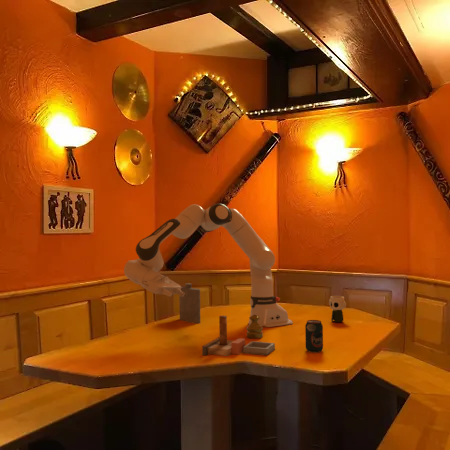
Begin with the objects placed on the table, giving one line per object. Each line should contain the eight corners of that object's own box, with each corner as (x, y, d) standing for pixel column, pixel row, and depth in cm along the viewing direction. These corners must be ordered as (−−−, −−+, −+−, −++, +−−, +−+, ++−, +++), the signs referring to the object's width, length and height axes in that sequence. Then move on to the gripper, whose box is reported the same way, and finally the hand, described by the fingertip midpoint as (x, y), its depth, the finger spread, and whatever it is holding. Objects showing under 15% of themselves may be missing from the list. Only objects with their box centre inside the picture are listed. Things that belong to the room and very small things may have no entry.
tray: (243, 353, 202) (243, 346, 202) (251, 347, 211) (251, 341, 211) (267, 355, 198) (267, 349, 198) (274, 349, 207) (274, 343, 207)
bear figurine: (324, 321, 263) (324, 296, 263) (333, 319, 268) (333, 294, 267) (341, 324, 255) (341, 298, 254) (350, 322, 259) (350, 297, 259)
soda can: (314, 354, 199) (314, 323, 199) (302, 350, 205) (301, 321, 205) (326, 351, 203) (326, 321, 203) (314, 347, 209) (313, 318, 209)
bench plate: (205, 353, 201) (204, 347, 201) (218, 345, 214) (218, 339, 214) (228, 355, 198) (228, 349, 198) (240, 347, 211) (240, 341, 210)
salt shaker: (248, 339, 225) (248, 316, 225) (244, 335, 232) (244, 313, 232) (264, 338, 227) (264, 316, 226) (260, 334, 234) (260, 313, 234)
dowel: (225, 349, 208) (225, 315, 208) (228, 351, 205) (227, 316, 205) (218, 349, 207) (218, 315, 207) (220, 351, 204) (220, 317, 204)
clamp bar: (202, 355, 199) (202, 346, 199) (221, 344, 217) (221, 335, 217) (206, 355, 199) (206, 346, 199) (224, 344, 216) (224, 336, 216)
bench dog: (231, 354, 200) (231, 342, 200) (238, 349, 208) (238, 338, 208) (238, 354, 199) (238, 343, 199) (245, 349, 207) (245, 338, 207)
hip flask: (201, 322, 262) (201, 284, 262) (195, 324, 259) (195, 285, 259) (183, 318, 274) (182, 281, 274) (177, 319, 271) (176, 282, 271)
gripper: (142, 274, 214) (167, 288, 208) (168, 275, 233) (191, 288, 226) (137, 288, 215) (161, 302, 209) (163, 288, 233) (186, 301, 227)
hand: (177, 295), depth 218 cm, fingers open, 8 cm apart
